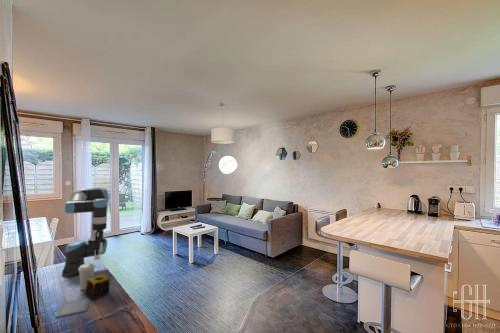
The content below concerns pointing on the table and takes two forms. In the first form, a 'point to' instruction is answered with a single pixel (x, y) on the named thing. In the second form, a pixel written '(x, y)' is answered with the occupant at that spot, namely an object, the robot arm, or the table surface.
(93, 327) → the table surface
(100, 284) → the candle
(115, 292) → the table surface
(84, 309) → the coaster
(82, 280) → the coffee cup
